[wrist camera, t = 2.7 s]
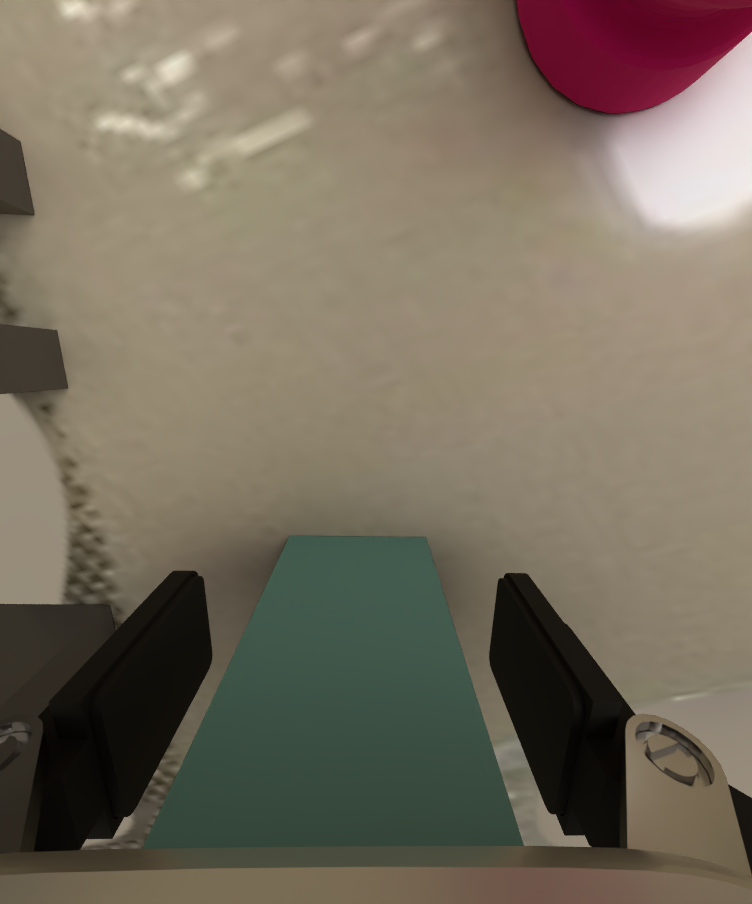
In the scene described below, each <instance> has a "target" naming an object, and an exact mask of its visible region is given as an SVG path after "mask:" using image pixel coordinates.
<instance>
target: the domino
mask: <svg viewBox="0 0 752 904" xmlns="http://www.w3.org/2000/svg"><path fill="white" fill-rule="evenodd" d="M347 846H524V845H523V841H522V838H521V835H520V832H519V829H518V826H517V823H516V819H515V816H514V813H513V810H512V807H511V804H510V800H509V797H508V794H507V791H506V788H505V785H504V782H503V778H502V775H501V772H500V769H499V766H498V763H497V760H496V756H495V753H494V750H493V747H492V744H491V741H490V738H489V734H488V731H487V728H486V725H485V722H484V719H483V716H482V712H481V709H480V706H479V703H478V700H477V697H476V693H475V690H474V687H473V684H472V681H471V678H470V675H469V671H468V668H467V665H466V662H465V659H464V656H463V653H462V649H461V646H460V643H459V640H458V637H457V634H456V631H455V627H454V624H453V621H452V618H451V615H450V612H449V609H448V605H447V602H446V599H445V596H444V593H443V590H442V586H441V583H440V580H439V577H438V574H437V571H436V568H435V564H434V561H433V558H432V555H431V552H430V549H429V546H428V542H427V539H426V537H370V536H289V538H288V540H287V543H286V545H285V547H284V549H283V551H282V553H281V555H280V557H279V560H278V562H277V564H276V566H275V568H274V570H273V572H272V574H271V577H270V579H269V581H268V583H267V585H266V587H265V589H264V591H263V594H262V596H261V598H260V600H259V602H258V604H257V606H256V608H255V610H254V613H253V615H252V617H251V619H250V621H249V623H248V625H247V627H246V630H245V632H244V634H243V636H242V638H241V640H240V642H239V644H238V647H237V649H236V651H235V653H234V655H233V657H232V659H231V661H230V664H229V666H228V668H227V670H226V672H225V674H224V676H223V678H222V681H221V683H220V685H219V687H218V689H217V691H216V693H215V695H214V697H213V700H212V702H211V704H210V706H209V708H208V710H207V712H206V714H205V717H204V719H203V721H202V723H201V725H200V727H199V729H198V731H197V734H196V736H195V738H194V740H193V742H192V744H191V746H190V748H189V751H188V753H187V755H186V757H185V759H184V761H183V763H182V765H181V768H180V770H179V772H178V774H177V776H176V778H175V780H174V782H173V784H172V787H171V789H170V791H169V793H168V795H167V797H166V799H165V801H164V804H163V806H162V808H161V810H160V812H159V814H158V816H157V818H156V821H155V823H154V825H153V827H152V829H151V831H150V833H149V835H148V838H147V840H146V842H145V844H144V846H143V848H142V849H165V848H233V847H347Z"/></svg>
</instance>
